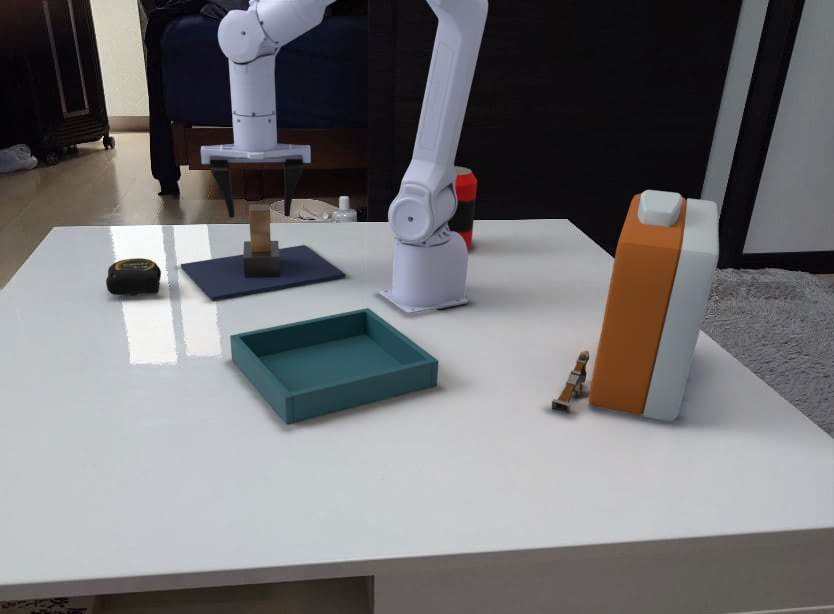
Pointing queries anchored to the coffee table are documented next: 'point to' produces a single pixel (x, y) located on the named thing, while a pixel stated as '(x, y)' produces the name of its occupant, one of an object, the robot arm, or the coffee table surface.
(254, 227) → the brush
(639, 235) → the orange and white box
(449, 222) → the soda can
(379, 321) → the tray
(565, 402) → the wooden post with brackets
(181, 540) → the coffee table surface
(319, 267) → the pad
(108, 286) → the tape measure
